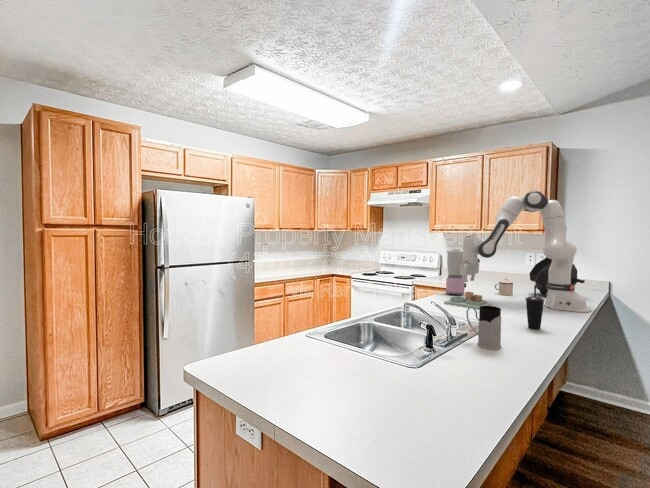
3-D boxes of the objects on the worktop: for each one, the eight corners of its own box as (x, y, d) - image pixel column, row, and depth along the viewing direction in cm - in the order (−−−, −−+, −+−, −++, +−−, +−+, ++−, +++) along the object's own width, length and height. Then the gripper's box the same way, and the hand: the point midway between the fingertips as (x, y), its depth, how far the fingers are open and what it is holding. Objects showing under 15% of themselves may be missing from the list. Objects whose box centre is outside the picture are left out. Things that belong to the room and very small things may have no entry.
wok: (545, 293, 229) (521, 267, 247) (553, 310, 246) (531, 285, 264) (587, 269, 222) (559, 244, 240) (592, 289, 239) (566, 264, 257)
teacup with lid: (514, 294, 251) (515, 278, 250) (510, 296, 244) (510, 279, 244) (496, 292, 259) (497, 276, 259) (492, 294, 253) (492, 277, 252)
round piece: (474, 300, 231) (474, 292, 231) (471, 301, 227) (471, 293, 227) (467, 298, 235) (467, 291, 234) (463, 299, 231) (463, 292, 231)
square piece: (481, 303, 211) (482, 295, 211) (478, 305, 207) (478, 296, 207) (473, 302, 214) (473, 294, 214) (470, 303, 211) (470, 295, 211)
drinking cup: (526, 325, 169) (527, 283, 168) (545, 328, 164) (546, 285, 164) (523, 328, 163) (524, 285, 163) (542, 331, 158) (543, 287, 158)
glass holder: (494, 351, 132) (495, 311, 131) (460, 341, 143) (460, 304, 143) (506, 347, 137) (507, 308, 137) (472, 337, 149) (473, 302, 148)
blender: (445, 295, 246) (446, 249, 245) (445, 292, 258) (446, 248, 257) (470, 296, 241) (471, 250, 240) (469, 294, 253) (469, 249, 252)
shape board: (490, 306, 212) (490, 300, 212) (480, 309, 202) (480, 303, 202) (454, 300, 228) (454, 295, 227) (444, 303, 218) (444, 298, 218)
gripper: (467, 261, 221) (466, 283, 222) (481, 259, 235) (480, 280, 236) (457, 260, 225) (456, 282, 226) (471, 259, 240) (470, 279, 240)
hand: (468, 281), depth 231 cm, fingers open, 8 cm apart
